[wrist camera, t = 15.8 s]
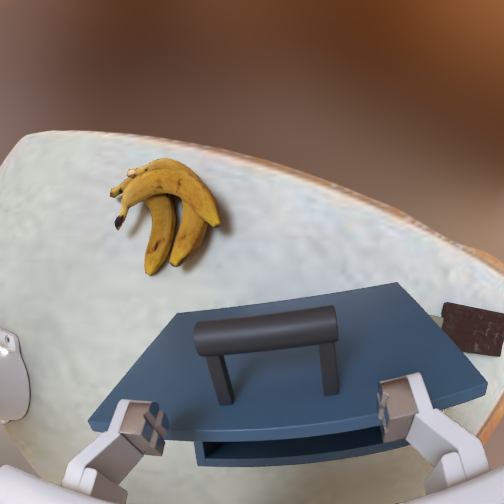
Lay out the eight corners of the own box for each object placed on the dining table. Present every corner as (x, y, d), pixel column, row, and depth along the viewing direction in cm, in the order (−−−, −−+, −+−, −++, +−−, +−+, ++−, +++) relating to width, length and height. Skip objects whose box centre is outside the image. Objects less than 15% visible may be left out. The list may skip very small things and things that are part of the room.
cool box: (390, 421, 31) (411, 444, 22) (222, 440, 34) (197, 465, 25) (377, 298, 35) (396, 286, 26) (209, 322, 38) (179, 317, 29)
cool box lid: (485, 395, 11) (502, 292, 10) (92, 431, 14) (53, 348, 13) (397, 290, 26) (393, 231, 25) (178, 320, 29) (165, 266, 28)
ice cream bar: (398, 340, 33) (499, 356, 29) (402, 341, 31) (505, 357, 28) (407, 296, 34) (506, 315, 30) (411, 294, 32) (512, 314, 29)
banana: (131, 162, 46) (113, 143, 41) (246, 181, 41) (236, 158, 36) (94, 255, 43) (69, 244, 38) (208, 294, 38) (191, 287, 33)
